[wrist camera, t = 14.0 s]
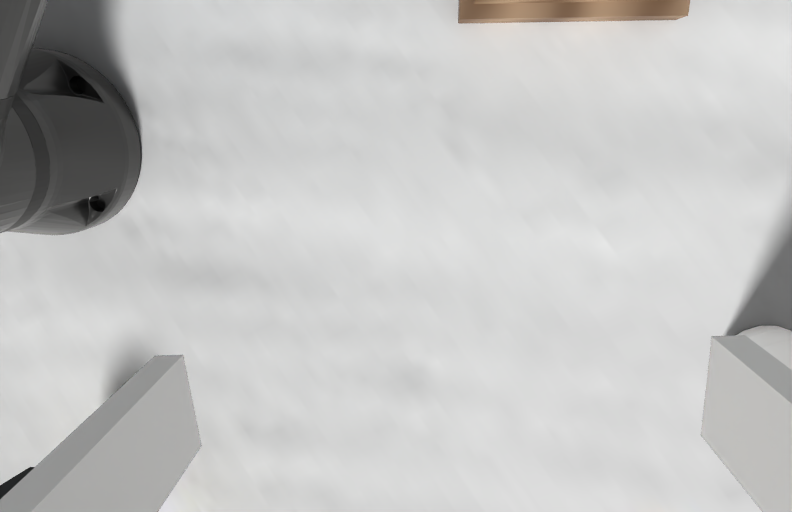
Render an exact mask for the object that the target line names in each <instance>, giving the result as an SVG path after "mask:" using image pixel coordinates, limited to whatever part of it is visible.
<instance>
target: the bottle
mask: <svg viewBox="0 0 792 512" xmlns="http://www.w3.org/2000/svg"><path fill="white" fill-rule="evenodd" d="M738 335H746V336H747V337H748V338H750V339H751V340H752V341H754V342H755V343H756V344H758V345H759V346H760V347H762V348H763V349H764V350H766V351H767V352H768V353H770V354H771V355H772V356H774V357H775V358H776V359H778V360H779V361H780V362H782V363H783V364H784V365H786V366H787V367H788V368H790V369H791V370H792V331H791V330H788V329H785V328H782V327H779V326H757V327H754V328H751V329H747V330H744V331H742V332H741V333H739V334H738Z"/></svg>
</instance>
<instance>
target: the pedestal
mask: <svg viewBox="0 0 792 512" xmlns="http://www.w3.org/2000/svg"><path fill="white" fill-rule="evenodd" d="M689 5H690V0H459V15H458V23H510V22H571V21H633V20H676V19H679V18H682V17H685V16H688V12H689Z"/></svg>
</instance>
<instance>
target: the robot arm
mask: <svg viewBox="0 0 792 512" xmlns="http://www.w3.org/2000/svg"><path fill="white" fill-rule="evenodd" d="M47 2H48V0H0V233H2V232H5V231H9V232H20V233H31V234H43V235H64V234H71V233H76V232H80V231H83V230H86V229H88V228H91V227H94V226H97V225H99V224H101V223H104V222H105V221H107V220H109V219H110V218H112V217H113V216H114V215H116V214H117V213H118V212H119V211H120V210H121V209H122V208H123V207H124V206H125V204H126V203H127V202H128V200H129V199H130V197H131V195H132V193H133V191H134V189H135V186H136V184H137V180H138V177H139V171H140V163H141V151H140V142H139V137H138V132H137V129H136V126H135V123H134V120H133V117H132V115H131V113H130V111H129V109H128V107H127V105H126V103H125V102H124V100H123V99H122V97H121V96H120V94H119V93H118V92H117V90H116V89H115V88H114V87H113V85H112V84H111V83H110V82H109V81H108V80H107V79H106V78H105V77H104V76H103V75H102V74H100V73H99V72H98V71H97V70H95V69H94V68H93V67H91V66H90V65H88V64H86V63H85V62H83V61H81V60H79V59H77V58H75V57H73V56H71V55H68V54H65V53H62V52H58V51H53V50H47V49H39V48H32V46H33V43H34V40H35V37H36V34H37V31H38V28H39V26H40V23H41V20H42V17H43V14H44V11H45V8H46V5H47ZM701 437H702V438H703V439H704V440H705V442H706V443H707V444H708V445H709V446H710V448H711V449H712V450H713V451H714V453H715V454H716V455H717V456H718V458H719V459H720V460H721V461H722V463H723V464H724V465H725V466H726V468H727V469H728V470H729V471H730V473H731V474H732V475H733V476H734V477H735V479H736V480H737V481H738V482H739V484H740V485H741V486H742V487H743V489H744V490H745V491H746V492H747V494H748V495H749V496H750V497H751V499H752V500H753V501H754V502H755V504H756V505H757V506H758V507H759V508H760V510H761V511H762V512H792V370H791V369H790V368H788V367H787V366H786V365H784V364H783V363H782V362H780V361H779V360H778V359H776V358H775V357H774V356H772V355H771V354H770V353H768V352H767V351H766V350H764V349H763V348H762V347H760V346H759V345H758V344H756V343H755V342H754V341H752V340H751V339H750V338H748V337H747V336H746V335H735V336H711V346H710V355H709V364H708V373H707V382H706V391H705V400H704V410H703V419H702V428H701ZM201 446H202V445H201V440H200V435H199V430H198V426H197V421H196V416H195V411H194V406H193V401H192V396H191V391H190V386H189V381H188V376H187V371H186V366H185V361H184V356H183V355H162V356H154V357H153V358H152V359H151V360H150V361H149V362H148V363H146V364H145V365H144V366H143V367H142V368H141V369H140V370H139V371H138V372H137V373H136V374H135V375H134V376H133V377H131V378H130V379H129V380H128V381H127V382H126V383H125V384H124V385H123V386H122V387H121V388H120V389H119V390H117V391H116V392H115V393H114V394H113V395H112V396H111V397H110V398H109V399H108V400H107V401H106V402H105V403H103V404H102V405H101V406H100V407H99V408H98V409H97V410H96V411H95V412H94V413H93V414H92V415H91V416H89V417H88V418H87V419H86V420H85V421H84V422H83V423H82V424H81V425H80V426H79V427H78V428H77V429H75V430H74V431H73V432H72V433H71V434H70V435H69V436H68V437H67V438H66V439H65V440H64V441H63V442H61V443H60V444H59V445H58V446H57V447H56V448H55V449H54V450H53V451H52V452H51V453H50V454H49V455H47V456H46V457H45V458H44V459H43V460H42V461H41V462H40V463H39V464H38V465H37V466H36V467H30V468H28V469H26V470H25V471H23V472H21V473H20V474H18V475H16V476H15V477H13V478H12V479H10V480H8V481H7V482H5V483H3V484H2V485H0V512H158V511H159V509H160V508H161V506H162V505H163V503H164V502H165V500H166V499H167V497H168V496H169V494H170V493H171V491H172V490H173V488H174V487H175V485H176V484H177V482H178V481H179V479H180V478H181V476H182V475H183V473H184V472H185V470H186V469H187V467H188V466H189V464H190V463H191V461H192V460H193V458H194V457H195V455H196V453H197V452H198V450H199V449H200V447H201Z"/></svg>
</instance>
